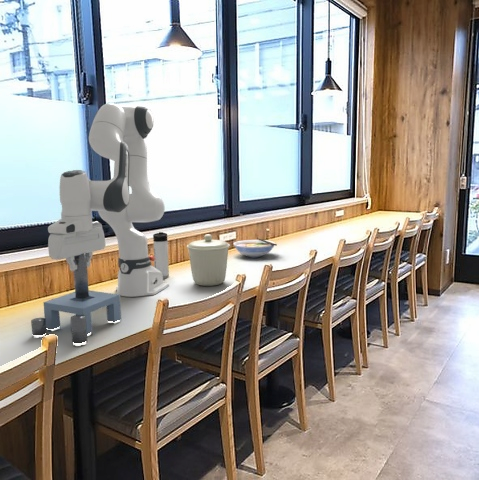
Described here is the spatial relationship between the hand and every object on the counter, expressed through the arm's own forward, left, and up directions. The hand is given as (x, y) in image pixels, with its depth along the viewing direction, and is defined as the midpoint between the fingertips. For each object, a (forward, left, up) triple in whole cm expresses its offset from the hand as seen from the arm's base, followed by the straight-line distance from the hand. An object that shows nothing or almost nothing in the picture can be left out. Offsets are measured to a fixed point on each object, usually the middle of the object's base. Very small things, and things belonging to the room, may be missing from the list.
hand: (80, 268), depth 144 cm
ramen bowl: (-122, +4, -19) cm, 123 cm away
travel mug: (-63, -15, -19) cm, 67 cm away
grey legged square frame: (0, 0, -18) cm, 18 cm away
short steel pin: (+12, -6, -19) cm, 23 cm away
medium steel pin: (+12, +10, -18) cm, 24 cm away
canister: (-62, +10, -19) cm, 66 cm away
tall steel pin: (0, 0, -9) cm, 9 cm away
